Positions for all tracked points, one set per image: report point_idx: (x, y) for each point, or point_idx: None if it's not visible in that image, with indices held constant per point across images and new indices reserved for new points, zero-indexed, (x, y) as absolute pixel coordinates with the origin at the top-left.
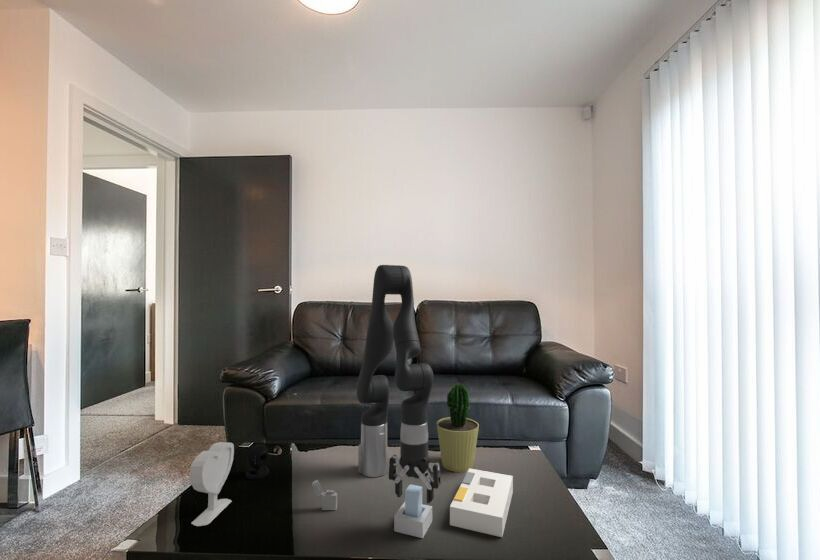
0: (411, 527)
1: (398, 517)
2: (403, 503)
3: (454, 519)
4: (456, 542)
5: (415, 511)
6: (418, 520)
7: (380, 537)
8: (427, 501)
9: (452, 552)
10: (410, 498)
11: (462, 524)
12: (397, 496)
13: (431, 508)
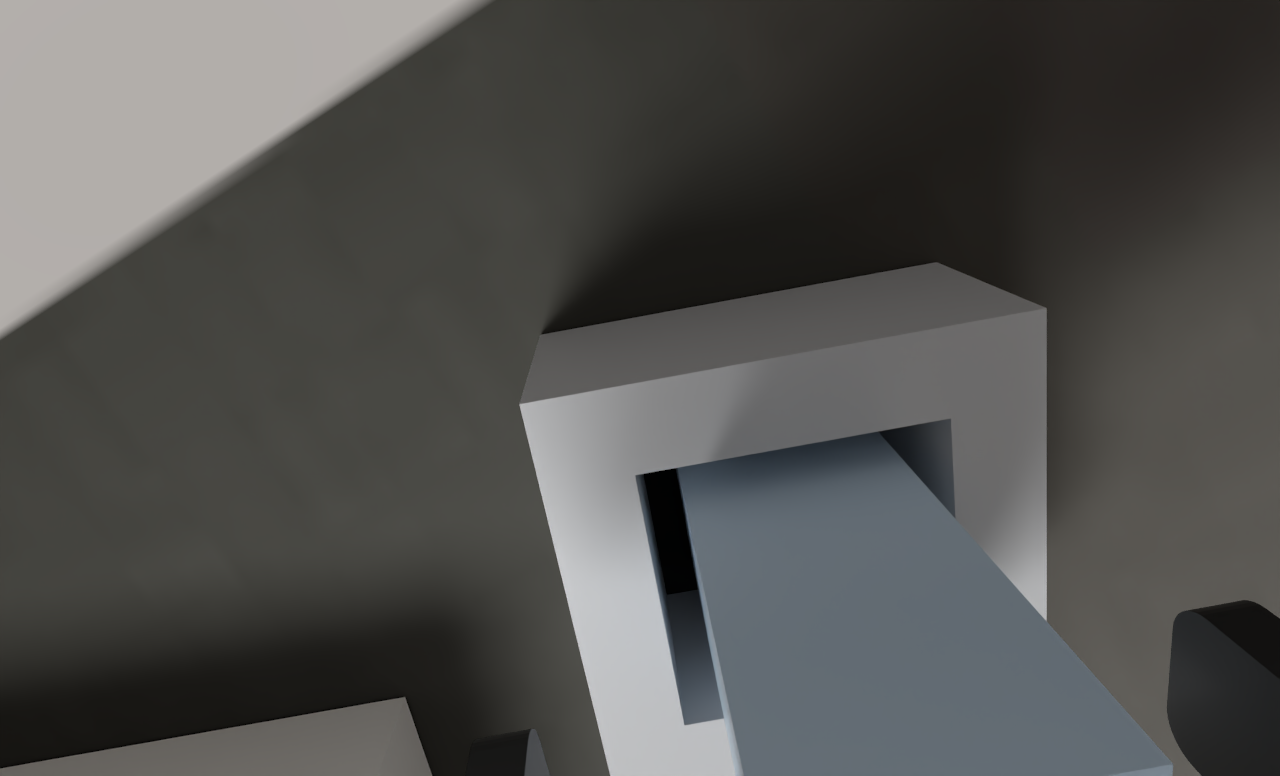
0: (705, 332)
1: (960, 319)
2: None
3: (326, 766)
4: (161, 485)
5: (737, 534)
6: (610, 413)
7: (1049, 44)
8: (509, 758)
9: (82, 302)
10: (915, 657)
11: (243, 753)
12: (1241, 604)
13: (609, 762)
